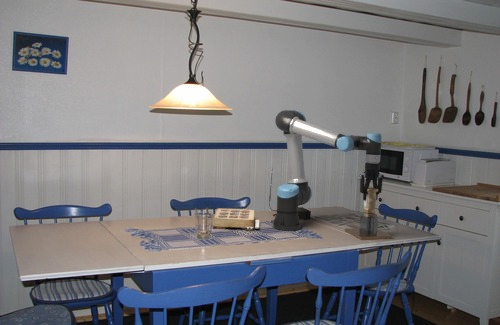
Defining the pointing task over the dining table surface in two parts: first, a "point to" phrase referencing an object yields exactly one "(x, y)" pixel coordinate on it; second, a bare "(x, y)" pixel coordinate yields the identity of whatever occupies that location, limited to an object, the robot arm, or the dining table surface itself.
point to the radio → (302, 211)
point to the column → (370, 203)
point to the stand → (368, 229)
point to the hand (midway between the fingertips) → (369, 206)
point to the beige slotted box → (234, 219)
